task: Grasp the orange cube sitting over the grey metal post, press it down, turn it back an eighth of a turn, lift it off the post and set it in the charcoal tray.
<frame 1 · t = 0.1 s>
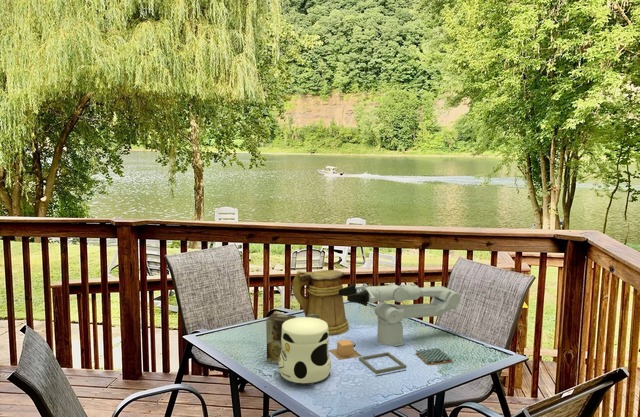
hand: (343, 295, 189), 22 cm above the table, tool horizontal, fingers open, 7 cm apart
can: (312, 347, 195), on the table
tankard: (320, 330, 213), on the table
woven mat: (433, 360, 187), on the table
orange cube: (345, 353, 187), point 1 cm above the table, touching post base
tray: (382, 366, 179), on the table
milk container: (304, 377, 171), on the table
post base: (345, 355, 188), on the table
coffee box: (281, 361, 183), on the table
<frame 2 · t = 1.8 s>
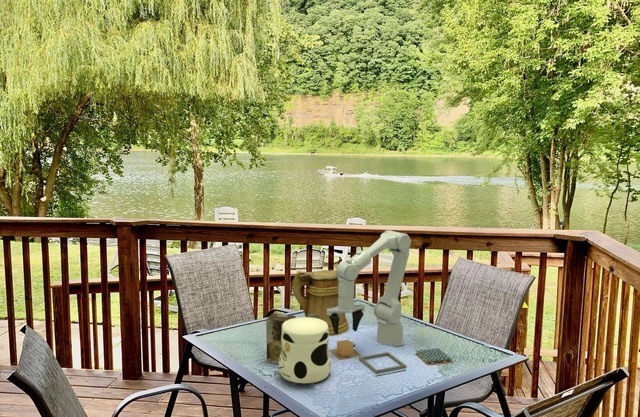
hand: (345, 331, 186), 9 cm above the table, tool pointing down, fingers open, 7 cm apart
nothing on the table moved.
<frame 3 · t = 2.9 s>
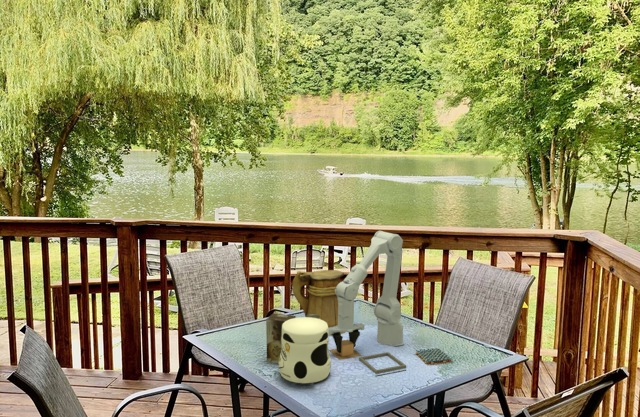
hand: (345, 350, 187), 2 cm above the table, tool pointing down, fingers closed on orange cube, 4 cm apart
orange cube: (345, 353, 187), point 1 cm above the table, touching gripper, post base
everything else where it was.
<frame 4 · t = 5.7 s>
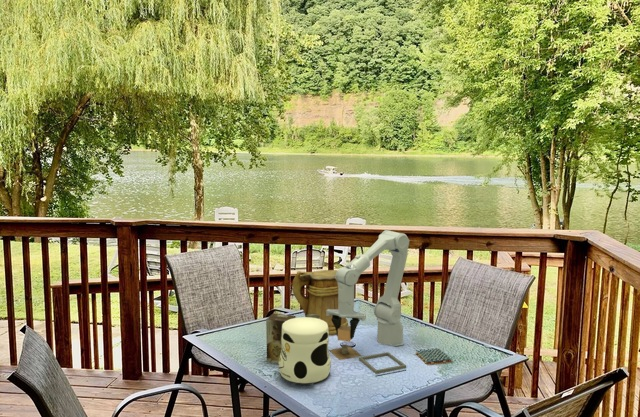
hand: (345, 336, 187), 7 cm above the table, tool pointing down, fingers closed on orange cube, 4 cm apart
orange cube: (345, 338, 187), point 7 cm above the table, touching gripper
everything else where it was.
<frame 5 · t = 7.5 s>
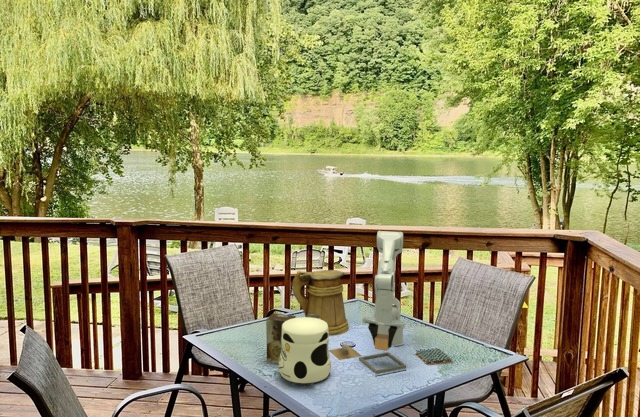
hand: (382, 345, 178), 8 cm above the table, tool pointing down, fingers closed on orange cube, 4 cm apart
orange cube: (382, 347, 178), point 7 cm above the table, touching gripper
everything else where it was.
when the fingers open (3 cm above the table, at t = 8.7 s): orange cube drops 2 cm, resting on tray.
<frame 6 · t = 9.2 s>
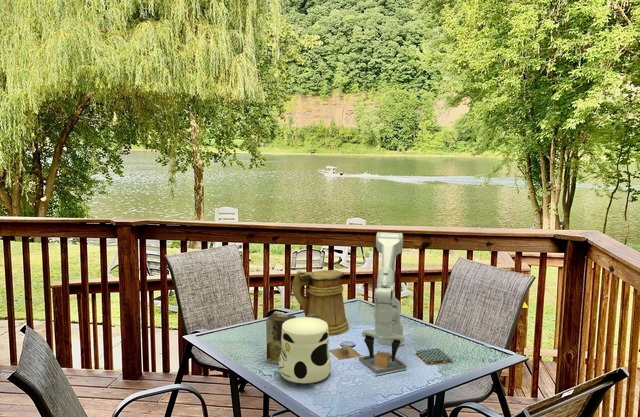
hand: (382, 358, 179), 3 cm above the table, tool pointing down, fingers open, 7 cm apart
orange cube: (382, 365, 179), resting on tray
everything else where it was.
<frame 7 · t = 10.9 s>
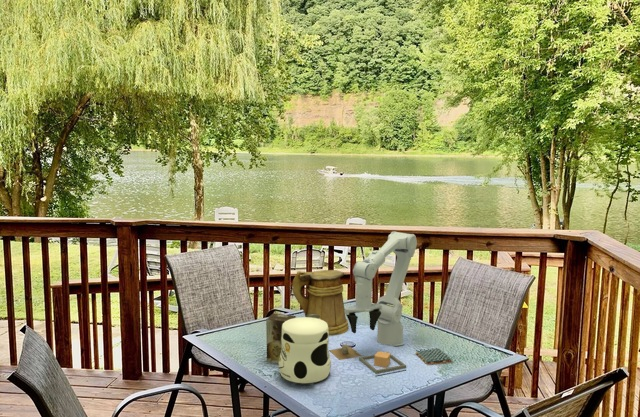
hand: (362, 330, 187), 9 cm above the table, tool pointing down, fingers open, 7 cm apart
nothing on the table moved.
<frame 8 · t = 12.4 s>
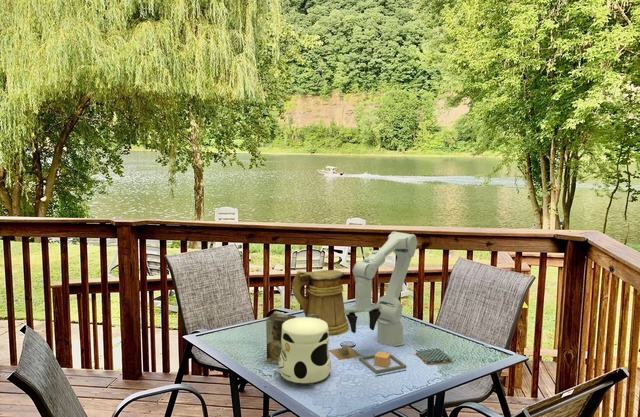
hand: (362, 330, 187), 9 cm above the table, tool pointing down, fingers open, 7 cm apart
nothing on the table moved.
at the end: orange cube inside the target area on the tray (0.1 cm from its centre), point 0.4 cm above the tray's base; orange cube tilted 0°; the gripper is holding nothing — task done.
